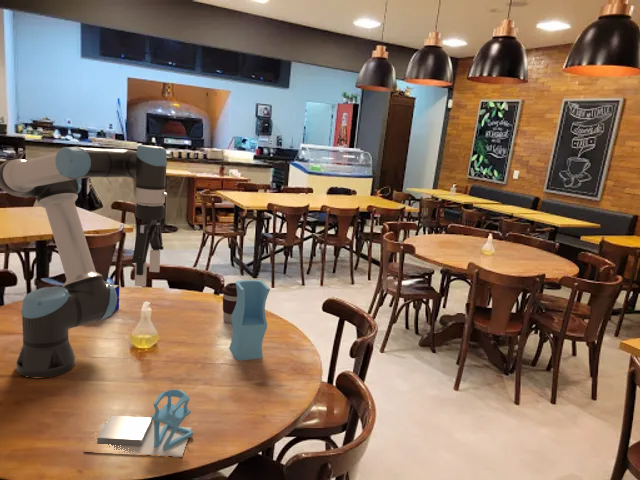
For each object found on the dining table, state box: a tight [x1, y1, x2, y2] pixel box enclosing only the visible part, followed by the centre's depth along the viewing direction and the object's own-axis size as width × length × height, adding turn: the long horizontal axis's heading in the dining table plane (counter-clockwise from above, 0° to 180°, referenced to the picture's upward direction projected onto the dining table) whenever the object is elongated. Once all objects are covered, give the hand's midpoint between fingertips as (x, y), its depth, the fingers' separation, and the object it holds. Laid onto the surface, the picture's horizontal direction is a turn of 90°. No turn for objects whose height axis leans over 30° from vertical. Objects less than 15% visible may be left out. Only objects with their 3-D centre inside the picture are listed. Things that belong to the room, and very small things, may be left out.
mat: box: [91, 422, 193, 458], centre depth 113 cm, size 22×11×1 cm, turn 94°
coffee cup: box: [221, 282, 237, 325], centre depth 189 cm, size 10×10×15 cm
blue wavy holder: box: [228, 279, 271, 361], centre depth 161 cm, size 10×10×25 cm
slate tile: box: [97, 414, 153, 446], centre depth 114 cm, size 10×2×9 cm
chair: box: [150, 389, 194, 451], centre depth 113 cm, size 8×8×12 cm
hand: (147, 278), depth 132 cm, fingers open, 13 cm apart
